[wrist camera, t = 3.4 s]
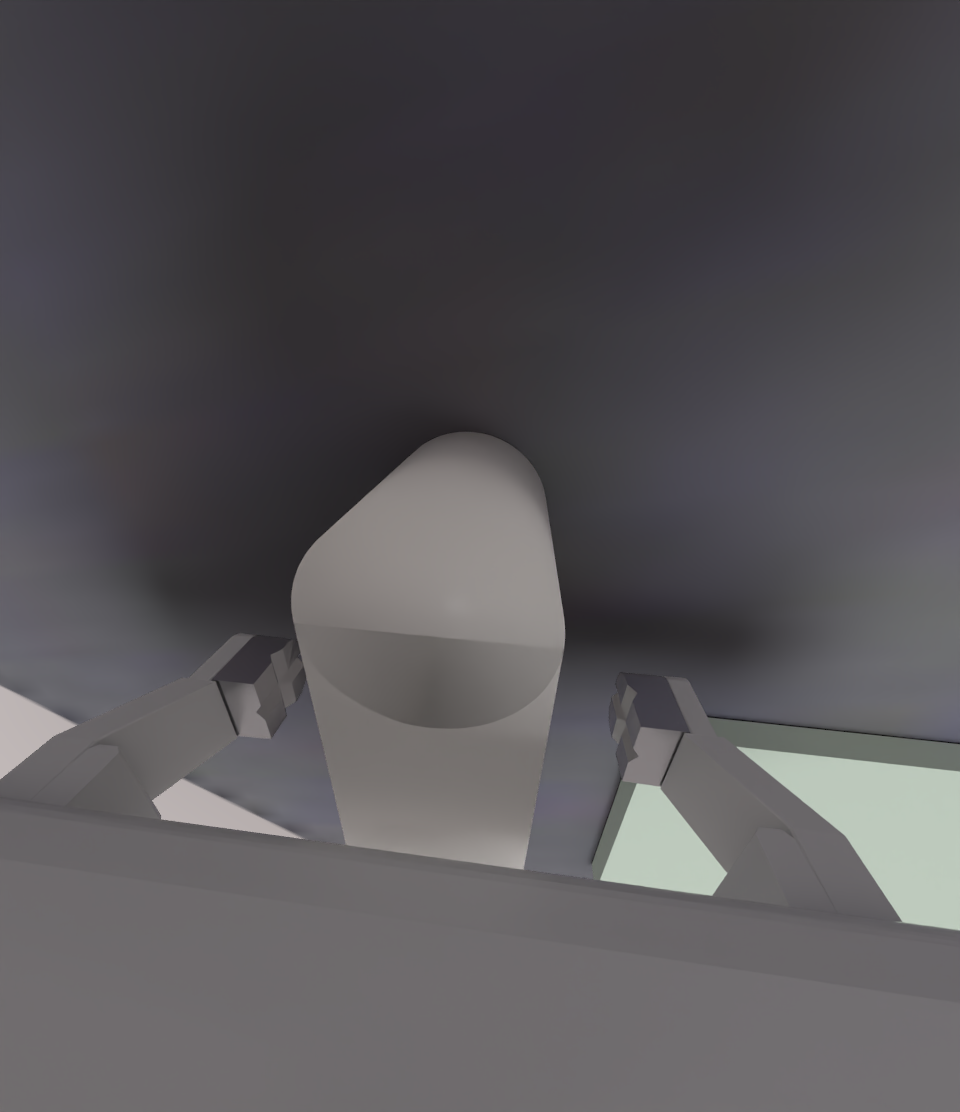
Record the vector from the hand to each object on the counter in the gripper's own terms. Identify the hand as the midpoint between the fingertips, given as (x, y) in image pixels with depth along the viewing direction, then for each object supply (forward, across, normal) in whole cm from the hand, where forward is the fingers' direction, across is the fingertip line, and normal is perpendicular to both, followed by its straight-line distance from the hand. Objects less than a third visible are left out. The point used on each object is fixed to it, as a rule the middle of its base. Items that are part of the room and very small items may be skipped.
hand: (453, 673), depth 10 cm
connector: (+2, 0, +1) cm, 3 cm away
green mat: (+2, -13, +8) cm, 15 cm away
